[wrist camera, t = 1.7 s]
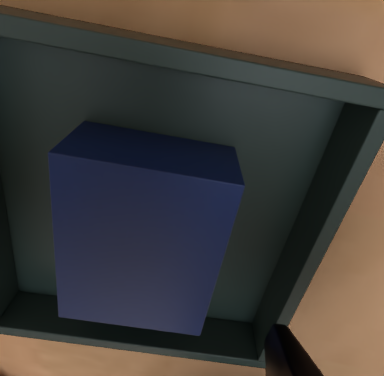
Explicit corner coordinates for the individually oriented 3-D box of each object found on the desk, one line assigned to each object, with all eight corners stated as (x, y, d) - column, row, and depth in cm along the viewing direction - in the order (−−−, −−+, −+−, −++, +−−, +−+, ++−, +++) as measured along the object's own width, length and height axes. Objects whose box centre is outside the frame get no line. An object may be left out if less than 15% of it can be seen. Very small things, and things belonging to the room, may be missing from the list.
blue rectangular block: (200, 280, 16) (200, 336, 13) (83, 262, 15) (57, 317, 13) (235, 146, 12) (245, 185, 9) (83, 120, 12) (47, 152, 9)
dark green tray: (257, 322, 18) (266, 369, 16) (15, 287, 17) (-16, 332, 15) (364, 76, 11) (409, 92, 9) (-32, -2, 10) (-104, -8, 8)
